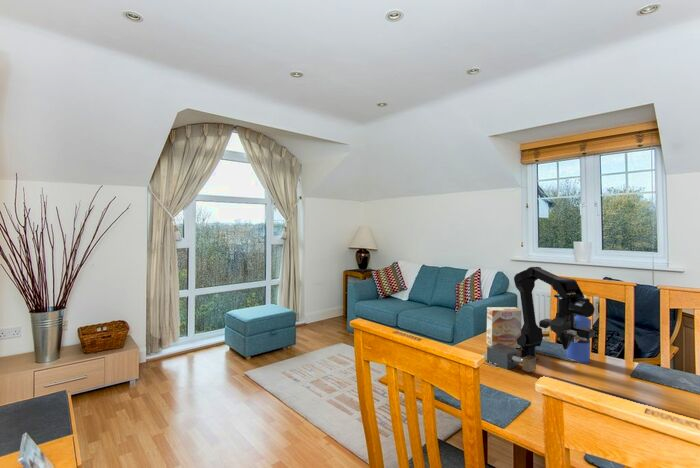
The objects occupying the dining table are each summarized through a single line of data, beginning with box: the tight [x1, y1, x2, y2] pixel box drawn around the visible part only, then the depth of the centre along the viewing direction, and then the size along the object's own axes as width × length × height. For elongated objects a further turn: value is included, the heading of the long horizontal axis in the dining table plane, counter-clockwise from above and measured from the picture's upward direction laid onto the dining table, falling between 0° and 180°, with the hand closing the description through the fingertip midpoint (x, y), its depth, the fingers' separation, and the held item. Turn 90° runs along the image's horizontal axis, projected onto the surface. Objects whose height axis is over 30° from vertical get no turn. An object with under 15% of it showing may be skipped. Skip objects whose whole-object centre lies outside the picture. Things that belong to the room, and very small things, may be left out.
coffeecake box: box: [486, 306, 522, 348], centre depth 177 cm, size 15×7×20 cm, turn 91°
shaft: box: [511, 355, 537, 373], centre depth 152 cm, size 5×18×5 cm, turn 33°
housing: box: [486, 343, 521, 371], centre depth 156 cm, size 9×10×7 cm
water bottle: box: [566, 314, 592, 364], centre depth 160 cm, size 9×9×25 cm
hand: (565, 349), depth 140 cm, fingers closed
